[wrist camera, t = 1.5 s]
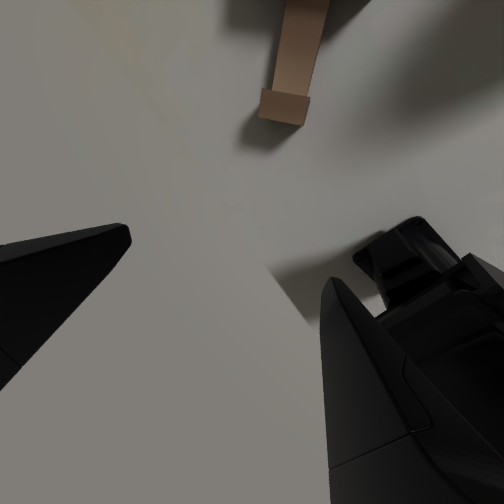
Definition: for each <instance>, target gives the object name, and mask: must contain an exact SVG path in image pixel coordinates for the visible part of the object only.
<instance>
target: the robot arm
mask: <svg viewBox="0 0 504 504" xmlns="http://www.w3.org/2000/svg"><path fill="white" fill-rule="evenodd" d="M417 221H420V223H419V224H415V223H416V222H417ZM131 243H132V239H131V235H130V231H129V227H128V226H127V225H124V224H121V223H113V224H108V225H103V226H98V227H93V228H87V229H82V230H77V231H72V232H66V233H61V234H56V235H51V236H46V237H40V238H36V239H30V240H25V241H19V242H14V243H9V244H6V245H0V391H1V390H2V389H3V388H4V387H5V385H6V384H7V383H8V382H9V381H10V380H11V379H12V378H13V377H14V376H15V375H16V374H17V373H18V371H19V370H20V369H21V368H22V366H24V365H25V364H26V362H27V361H28V360H29V359H30V358H31V357H32V356H33V355H34V354H35V353H36V352H37V351H38V350H39V348H40V347H41V346H42V345H43V344H44V343H45V342H46V341H47V340H48V339H49V338H50V337H51V336H52V334H53V333H54V332H55V331H56V330H57V329H58V328H59V327H60V326H61V325H62V324H63V323H64V321H65V320H66V319H67V318H68V317H69V316H70V315H71V314H72V313H73V312H74V311H75V310H76V309H77V308H78V307H79V305H80V304H81V303H82V302H83V301H84V300H85V299H86V298H87V297H88V296H89V295H90V293H92V291H93V290H94V289H95V288H96V287H97V286H98V285H99V284H100V283H101V282H102V281H103V280H104V279H105V277H106V276H107V275H108V274H109V273H110V272H111V270H112V269H113V268H114V267H115V266H116V264H117V263H118V262H119V260H120V259H121V257H122V256H123V255H124V254H125V252H126V251H127V250H128V248H129V247H130V246H131ZM357 258H360V259H357ZM461 259H462V260H461ZM461 259H460V258H459V257H458V256H457V255H456V254H455V253H454V252H453V250H452V249H451V248H450V247H449V246H448V245H447V244H446V243H445V241H444V240H443V239H442V238H441V237H440V236H439V235H438V234H437V233H436V231H435V230H434V229H433V228H432V227H431V226H430V225H429V224H428V222H427V221H426V220H425V219H424V218H422V217H420V216H417V217H414V218H412V219H410V220H409V221H407V222H406V223H404V224H402V225H401V226H399V227H398V228H396V229H393V230H391V231H389V232H388V233H386V234H385V235H383V236H381V237H380V238H378V239H377V240H375V241H373V242H372V243H370V244H369V245H368V246H367V247H366V248H364V249H362V250H361V251H359V252H358V253H356V254H354V255H353V261H354V263H355V264H356V265H358V266H359V267H360V268H361V269H362V270H363V271H364V272H365V273H366V274H367V275H368V276H369V277H370V278H371V279H372V280H374V281H375V282H376V284H377V287H378V289H379V292H380V294H381V297H382V299H383V302H384V305H385V307H386V311H384V312H383V313H381V314H380V315H378V316H377V317H375V318H374V317H373V316H372V314H371V313H370V312H369V311H368V310H367V309H366V307H365V306H364V305H363V304H362V303H361V302H360V300H359V299H358V298H357V297H356V296H355V295H354V293H353V292H352V291H351V290H350V289H349V288H348V286H347V285H346V284H345V283H344V282H343V281H342V280H341V279H340V278H336V277H330V278H329V279H328V281H327V283H326V285H325V287H324V289H323V291H322V295H321V311H320V344H321V360H322V375H323V389H324V390H323V391H324V406H325V421H326V437H327V452H328V468H329V485H330V501H331V504H504V272H503V271H501V270H499V269H498V268H496V267H494V266H493V265H491V264H489V263H487V262H486V261H484V260H482V259H480V258H479V257H477V256H475V255H474V254H472V253H469V254H467V255H466V256H464V257H463V258H461Z"/></svg>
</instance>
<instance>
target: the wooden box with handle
mask: <svg viewBox="0 0 504 504" xmlns="http://www.w3.org/2000/svg"><path fill="white" fill-rule="evenodd" d="M330 1H331V0H287V1H286V7H285V13H284V19H283V25H282V31H281V37H280V43H279V49H278V55H277V61H276V67H275V73H274V79H273V85H272V90H268V89H262V93H261V100H260V107H259V114H258V117H259V118H264V119H270V120H275V121H280V122H285V123H290V124H295V125H300V126H303V125H304V123H305V119H306V115H307V111H308V107H309V103H310V97H307V94H308V90H309V86H310V82H311V78H312V74H313V70H314V66H315V62H316V58H317V54H318V50H319V46H320V42H321V38H322V34H323V30H324V26H325V21H326V17H327V13H328V9H329V5H330Z"/></svg>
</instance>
